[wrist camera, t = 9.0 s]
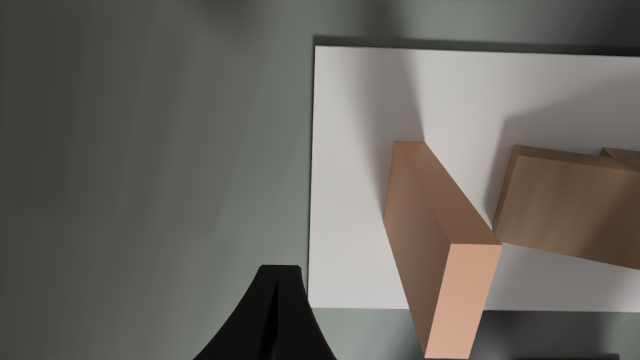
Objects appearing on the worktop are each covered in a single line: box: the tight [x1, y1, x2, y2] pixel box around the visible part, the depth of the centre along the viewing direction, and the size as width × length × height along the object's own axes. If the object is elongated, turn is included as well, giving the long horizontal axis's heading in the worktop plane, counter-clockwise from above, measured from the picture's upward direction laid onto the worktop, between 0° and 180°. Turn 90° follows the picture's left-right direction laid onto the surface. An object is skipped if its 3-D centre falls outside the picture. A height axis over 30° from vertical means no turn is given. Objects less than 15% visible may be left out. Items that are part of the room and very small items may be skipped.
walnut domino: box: [492, 144, 640, 270], centre depth 19 cm, size 2×5×9 cm
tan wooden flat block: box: [383, 141, 503, 359], centre depth 17 cm, size 2×5×9 cm, turn 178°
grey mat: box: [308, 45, 640, 312], centre depth 22 cm, size 16×30×1 cm, turn 88°
